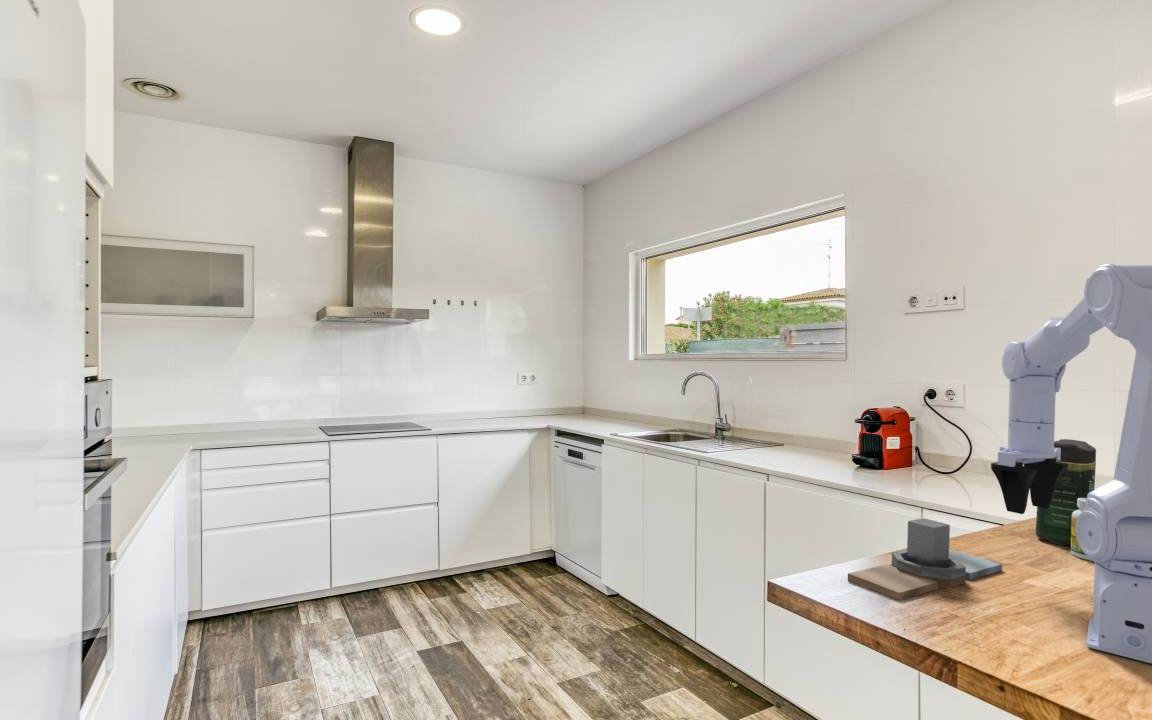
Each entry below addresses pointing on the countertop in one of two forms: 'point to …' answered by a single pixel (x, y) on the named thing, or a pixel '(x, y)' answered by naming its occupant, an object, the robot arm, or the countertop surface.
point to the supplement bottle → (1075, 546)
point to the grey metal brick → (928, 543)
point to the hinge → (922, 574)
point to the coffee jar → (1067, 491)
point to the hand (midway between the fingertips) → (1028, 509)
